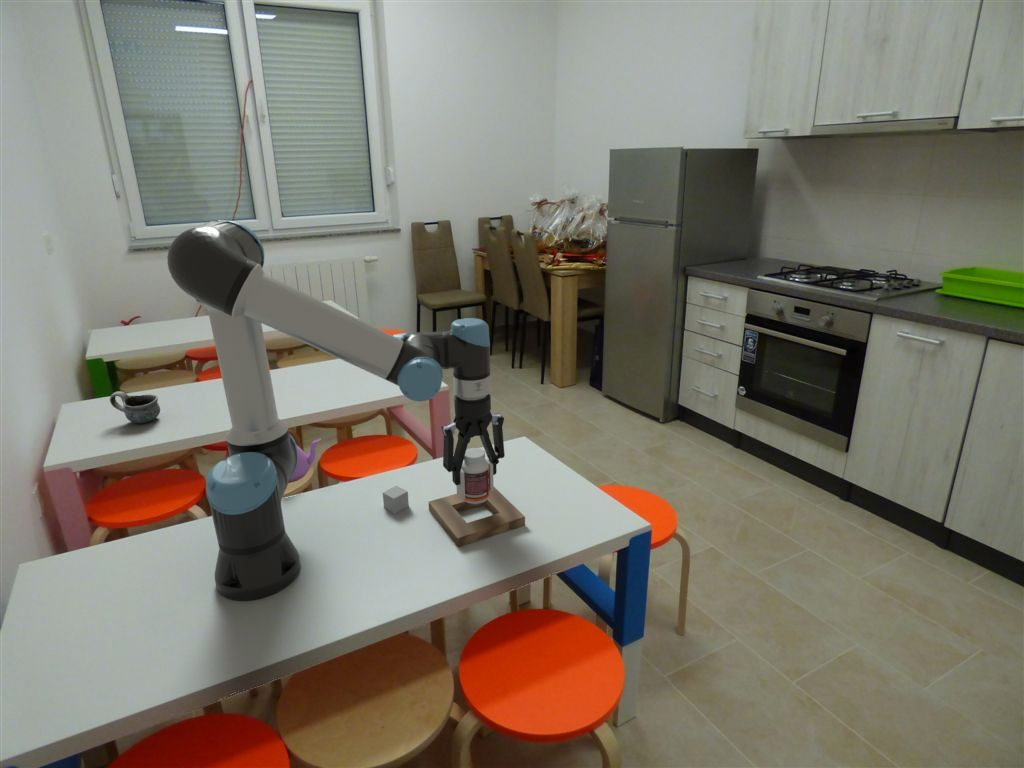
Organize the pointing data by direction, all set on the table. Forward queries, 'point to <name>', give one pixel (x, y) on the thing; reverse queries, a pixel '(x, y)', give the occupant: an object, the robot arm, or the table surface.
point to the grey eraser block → (395, 499)
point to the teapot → (304, 462)
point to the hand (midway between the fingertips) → (475, 491)
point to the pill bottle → (476, 476)
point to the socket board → (479, 529)
